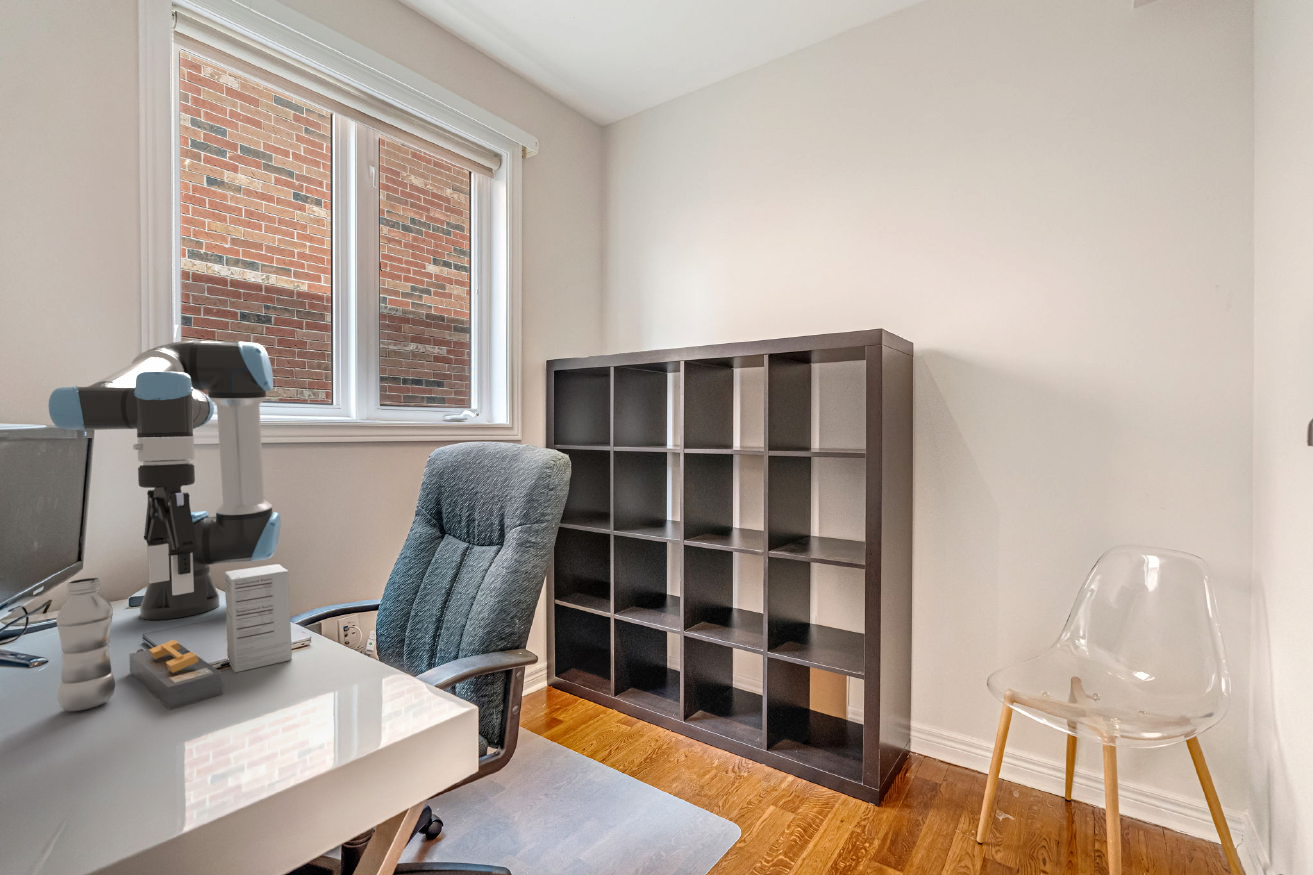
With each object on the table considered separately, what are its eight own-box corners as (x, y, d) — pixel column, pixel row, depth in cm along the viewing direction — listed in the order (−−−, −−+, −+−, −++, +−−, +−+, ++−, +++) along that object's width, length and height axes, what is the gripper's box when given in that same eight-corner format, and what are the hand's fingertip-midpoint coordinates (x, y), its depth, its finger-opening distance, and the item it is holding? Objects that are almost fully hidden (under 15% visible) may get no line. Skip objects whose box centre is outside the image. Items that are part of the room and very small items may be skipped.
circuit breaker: (116, 660, 117) (115, 641, 116) (162, 649, 122) (162, 631, 122) (169, 709, 95) (168, 686, 95) (222, 693, 101) (221, 671, 101)
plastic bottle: (50, 711, 96) (45, 583, 95) (105, 694, 102) (100, 573, 101) (68, 720, 93) (63, 587, 92) (124, 702, 99) (119, 577, 98)
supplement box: (293, 660, 115) (290, 570, 115) (233, 674, 109) (230, 579, 109) (282, 647, 123) (280, 562, 122) (226, 659, 116) (223, 570, 116)
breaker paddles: (151, 655, 108) (148, 647, 108) (175, 645, 111) (173, 637, 111) (172, 672, 100) (169, 663, 100) (198, 661, 103) (196, 652, 103)
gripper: (119, 462, 110) (124, 581, 110) (159, 466, 94) (164, 604, 95) (172, 460, 116) (175, 573, 116) (217, 463, 100) (222, 593, 100)
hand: (170, 587), depth 105 cm, fingers open, 13 cm apart
